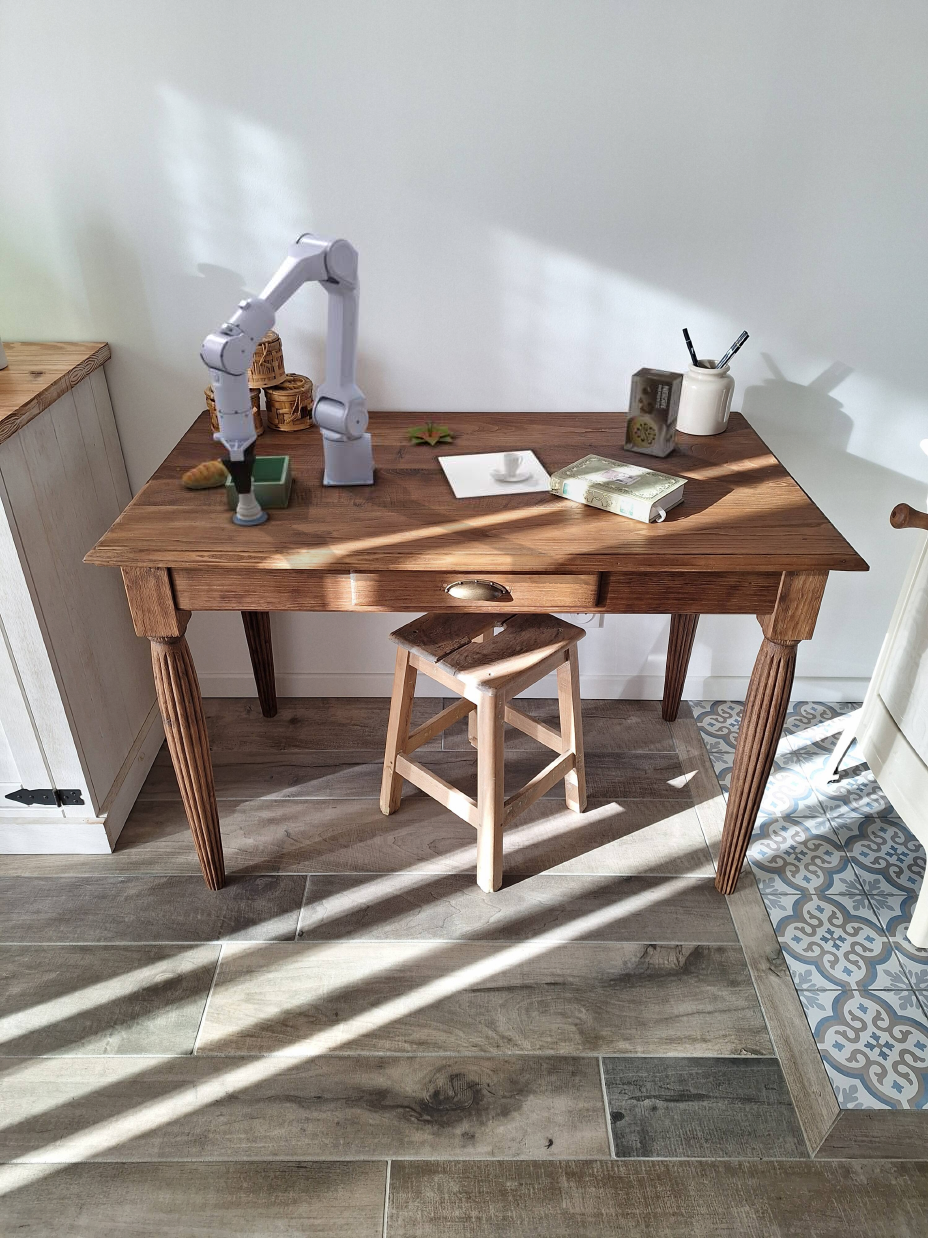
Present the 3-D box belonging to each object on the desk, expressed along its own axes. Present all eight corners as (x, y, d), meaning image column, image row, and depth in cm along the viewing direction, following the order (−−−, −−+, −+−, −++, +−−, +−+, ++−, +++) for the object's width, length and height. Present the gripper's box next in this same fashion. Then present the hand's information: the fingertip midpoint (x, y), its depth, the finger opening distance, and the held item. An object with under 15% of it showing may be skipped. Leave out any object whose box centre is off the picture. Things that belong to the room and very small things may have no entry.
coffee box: (674, 448, 181) (685, 373, 172) (663, 458, 176) (674, 381, 168) (634, 439, 185) (643, 365, 176) (622, 449, 181) (631, 373, 172)
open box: (292, 479, 166) (289, 455, 164) (286, 507, 156) (283, 483, 153) (238, 480, 166) (234, 457, 163) (229, 509, 155) (225, 485, 152)
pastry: (191, 494, 160) (187, 475, 158) (176, 483, 165) (173, 464, 163) (237, 481, 165) (234, 463, 163) (221, 471, 170) (219, 453, 167)
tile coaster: (268, 510, 155) (268, 508, 155) (265, 525, 150) (265, 523, 150) (235, 511, 154) (235, 509, 154) (230, 526, 149) (230, 524, 149)
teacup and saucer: (491, 485, 165) (492, 465, 162) (482, 468, 171) (483, 449, 169) (535, 481, 166) (536, 462, 164) (524, 465, 173) (525, 446, 170)
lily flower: (453, 426, 191) (453, 406, 188) (460, 446, 181) (461, 426, 179) (400, 428, 190) (399, 409, 187) (404, 449, 180) (404, 428, 177)
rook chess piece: (232, 515, 152) (226, 474, 148) (255, 508, 155) (249, 467, 150) (244, 524, 149) (237, 482, 145) (266, 517, 152) (261, 475, 147)
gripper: (212, 395, 146) (224, 468, 154) (206, 425, 134) (219, 503, 142) (254, 393, 147) (264, 466, 155) (251, 422, 135) (262, 500, 143)
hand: (245, 483), depth 148 cm, fingers open, 7 cm apart
